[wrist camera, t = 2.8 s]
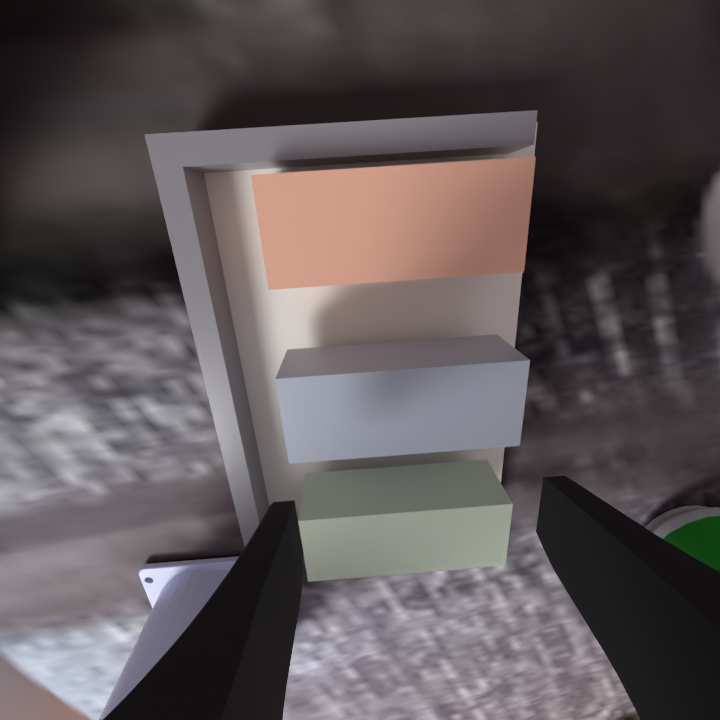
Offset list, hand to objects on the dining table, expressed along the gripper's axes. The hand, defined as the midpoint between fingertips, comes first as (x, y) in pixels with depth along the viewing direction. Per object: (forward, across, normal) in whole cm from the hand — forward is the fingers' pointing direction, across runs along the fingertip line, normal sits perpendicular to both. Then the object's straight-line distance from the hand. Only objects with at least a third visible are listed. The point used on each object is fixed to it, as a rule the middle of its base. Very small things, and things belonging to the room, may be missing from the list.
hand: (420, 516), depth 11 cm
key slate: (+7, 0, -1) cm, 7 cm away
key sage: (+7, 0, +5) cm, 8 cm away
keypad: (+9, +1, -1) cm, 9 cm away
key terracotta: (+8, 0, -8) cm, 11 cm away
